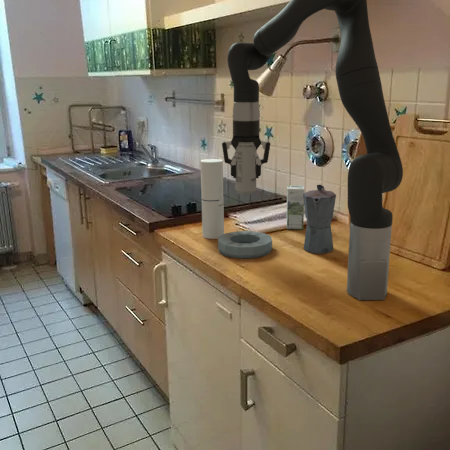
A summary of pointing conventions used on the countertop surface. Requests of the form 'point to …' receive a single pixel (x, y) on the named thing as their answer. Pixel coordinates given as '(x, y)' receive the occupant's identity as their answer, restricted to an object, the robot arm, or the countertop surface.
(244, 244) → the blue-grey ring
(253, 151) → the energy drink can
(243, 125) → the robot arm
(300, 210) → the syrup box
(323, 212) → the moka pot
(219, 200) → the cylindrical container
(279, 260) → the countertop surface
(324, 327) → the countertop surface
